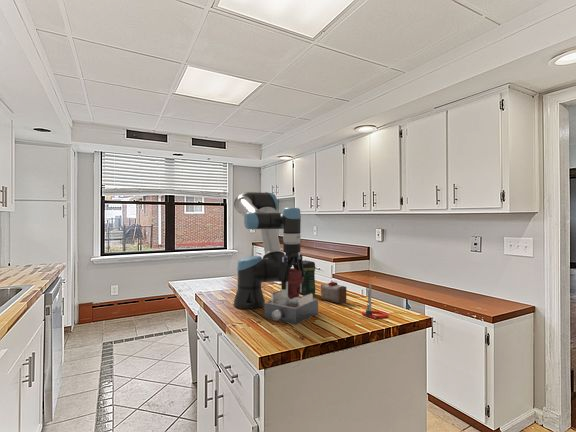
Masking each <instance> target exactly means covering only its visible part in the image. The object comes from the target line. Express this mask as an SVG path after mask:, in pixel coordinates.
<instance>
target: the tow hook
mask: <svg viewBox="0 0 576 432" xmlns="http://www.w3.org/2000/svg"><path fill="white" fill-rule="evenodd" d="M367 293H368V295H367V304H366V305H367V306H366V310H365V311H362V312H361V315H363V316H365V317H367V318H369V319H373V320H376V319H386V318H387V316H388V314H387V313H386V312H384V311H382V310H381V311H380V310H372V284H368V292H367Z"/></svg>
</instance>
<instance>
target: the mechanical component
mask: <svg viewBox="0 0 576 432" xmlns="http://www.w3.org/2000/svg"><path fill="white" fill-rule="evenodd" d="M287 282H288V297H289V299H293V298H295V297H299V296H300V284H301V283H303V278H302V272H301V271H300V270H297V269H295V268H294V267H293V268H292V267H291V268H290V272H289V275H288V278H287ZM280 283H281V281H280Z"/></svg>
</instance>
